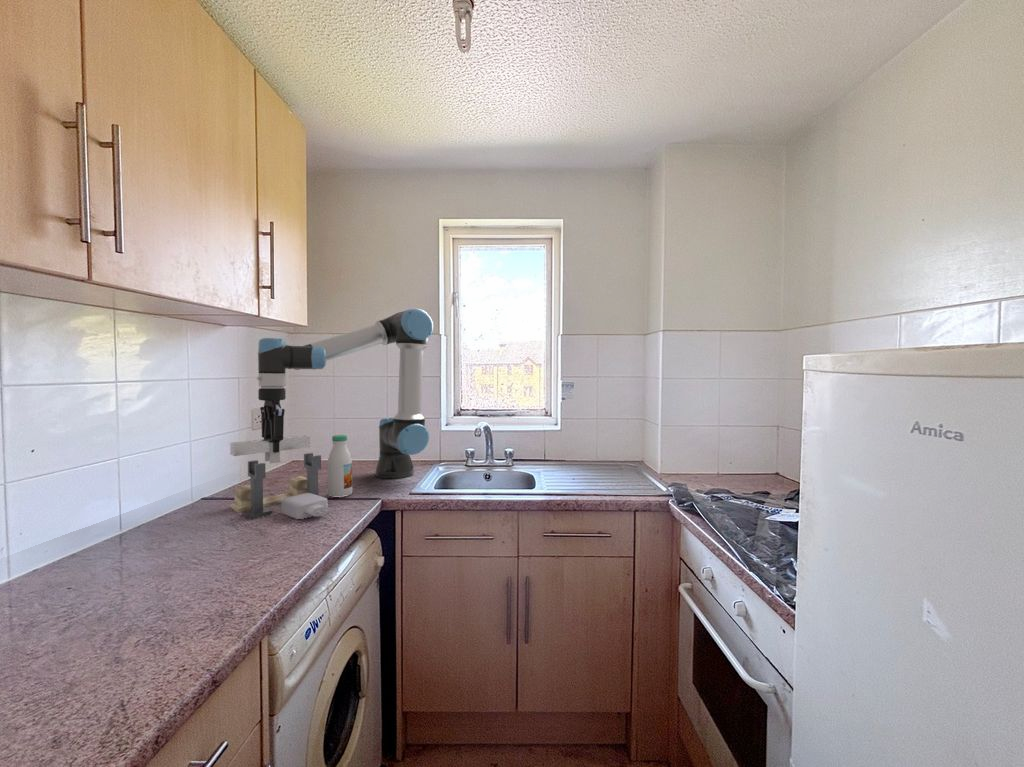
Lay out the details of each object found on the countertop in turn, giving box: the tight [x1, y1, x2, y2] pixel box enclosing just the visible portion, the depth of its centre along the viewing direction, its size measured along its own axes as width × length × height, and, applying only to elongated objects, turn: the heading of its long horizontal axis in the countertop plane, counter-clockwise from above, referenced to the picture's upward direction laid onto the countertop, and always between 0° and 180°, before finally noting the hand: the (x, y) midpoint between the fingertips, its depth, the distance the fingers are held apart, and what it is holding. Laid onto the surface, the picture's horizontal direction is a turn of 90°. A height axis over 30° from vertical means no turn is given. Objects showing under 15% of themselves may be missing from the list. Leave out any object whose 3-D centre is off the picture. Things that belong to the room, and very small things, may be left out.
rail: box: [229, 434, 311, 457], centre depth 139 cm, size 22×4×4 cm, turn 138°
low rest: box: [229, 475, 307, 513], centre depth 140 cm, size 22×7×6 cm, turn 138°
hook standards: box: [241, 452, 322, 520], centre depth 133 cm, size 22×7×15 cm, turn 138°
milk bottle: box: [327, 434, 353, 496], centre depth 147 cm, size 8×8×20 cm
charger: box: [280, 493, 330, 520], centre depth 127 cm, size 5×9×15 cm
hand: (272, 461), depth 139 cm, fingers closed on rail, 4 cm apart
